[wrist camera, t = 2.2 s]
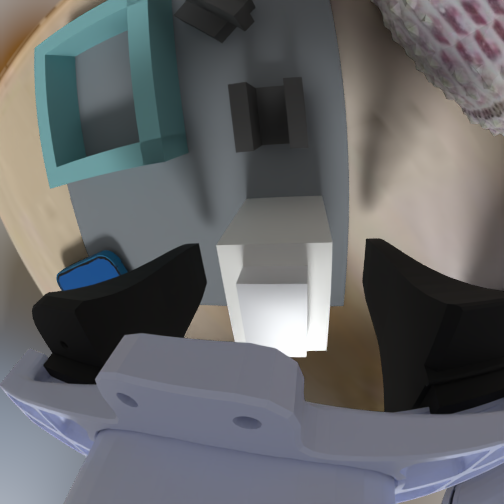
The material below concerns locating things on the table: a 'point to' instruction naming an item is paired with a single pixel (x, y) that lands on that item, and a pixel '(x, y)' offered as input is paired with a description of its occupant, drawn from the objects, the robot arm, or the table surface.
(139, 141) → the board
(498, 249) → the table surface
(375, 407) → the table surface
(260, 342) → the connector plug
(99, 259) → the smartphone
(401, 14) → the sea urchin shell
